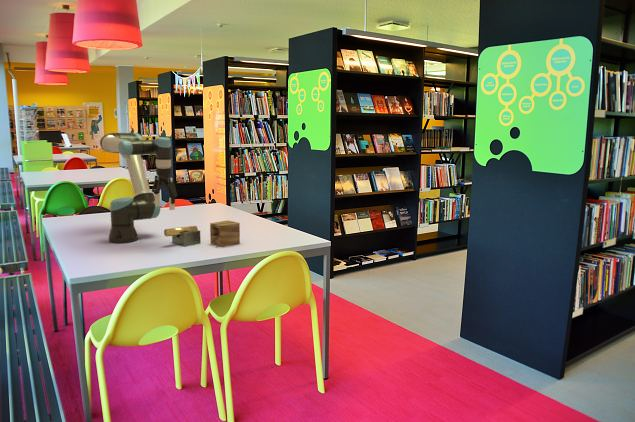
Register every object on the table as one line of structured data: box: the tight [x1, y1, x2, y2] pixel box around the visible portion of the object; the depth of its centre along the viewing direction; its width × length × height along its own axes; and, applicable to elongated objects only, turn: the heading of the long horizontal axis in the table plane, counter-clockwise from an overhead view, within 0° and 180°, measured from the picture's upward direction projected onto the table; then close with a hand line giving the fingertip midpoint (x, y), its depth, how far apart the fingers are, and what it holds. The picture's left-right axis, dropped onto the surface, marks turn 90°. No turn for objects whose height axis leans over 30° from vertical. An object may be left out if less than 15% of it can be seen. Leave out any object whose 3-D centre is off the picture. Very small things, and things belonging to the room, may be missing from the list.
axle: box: [163, 225, 199, 238], centre depth 267 cm, size 18×4×4 cm, turn 137°
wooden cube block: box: [209, 220, 241, 248], centre depth 269 cm, size 10×12×12 cm
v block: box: [171, 229, 202, 247], centre depth 270 cm, size 12×10×7 cm
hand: (164, 207), depth 261 cm, fingers open, 13 cm apart
